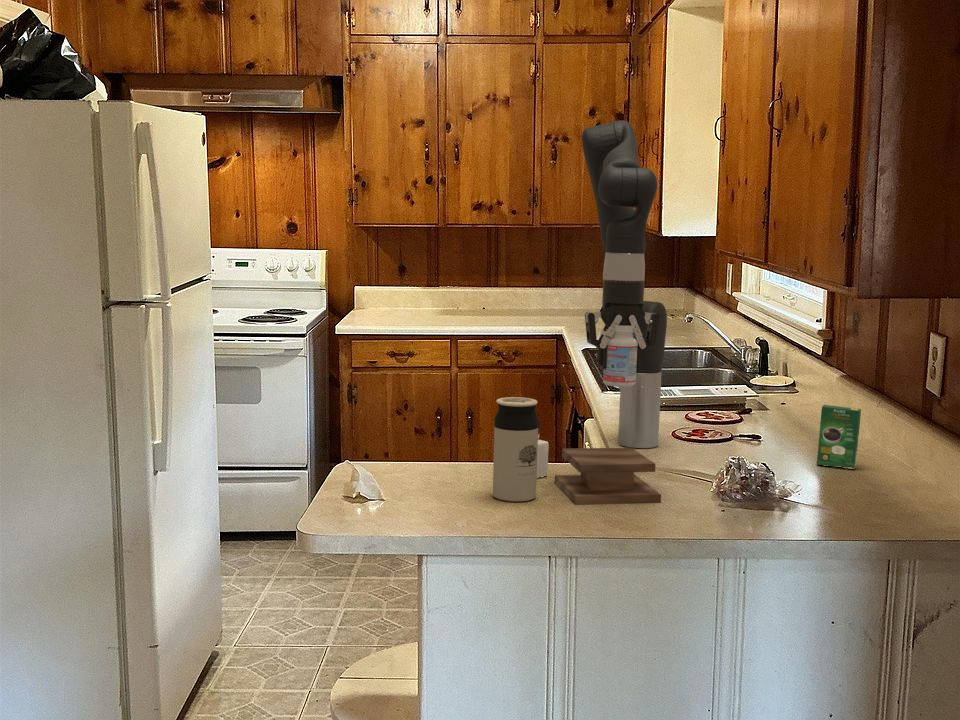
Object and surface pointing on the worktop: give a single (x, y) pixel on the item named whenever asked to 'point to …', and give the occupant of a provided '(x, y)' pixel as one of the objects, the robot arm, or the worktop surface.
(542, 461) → the medicine bottle
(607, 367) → the pill bottle
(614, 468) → the walnut stand
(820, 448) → the coffee box
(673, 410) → the worktop surface
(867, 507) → the worktop surface
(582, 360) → the worktop surface
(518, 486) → the travel mug
